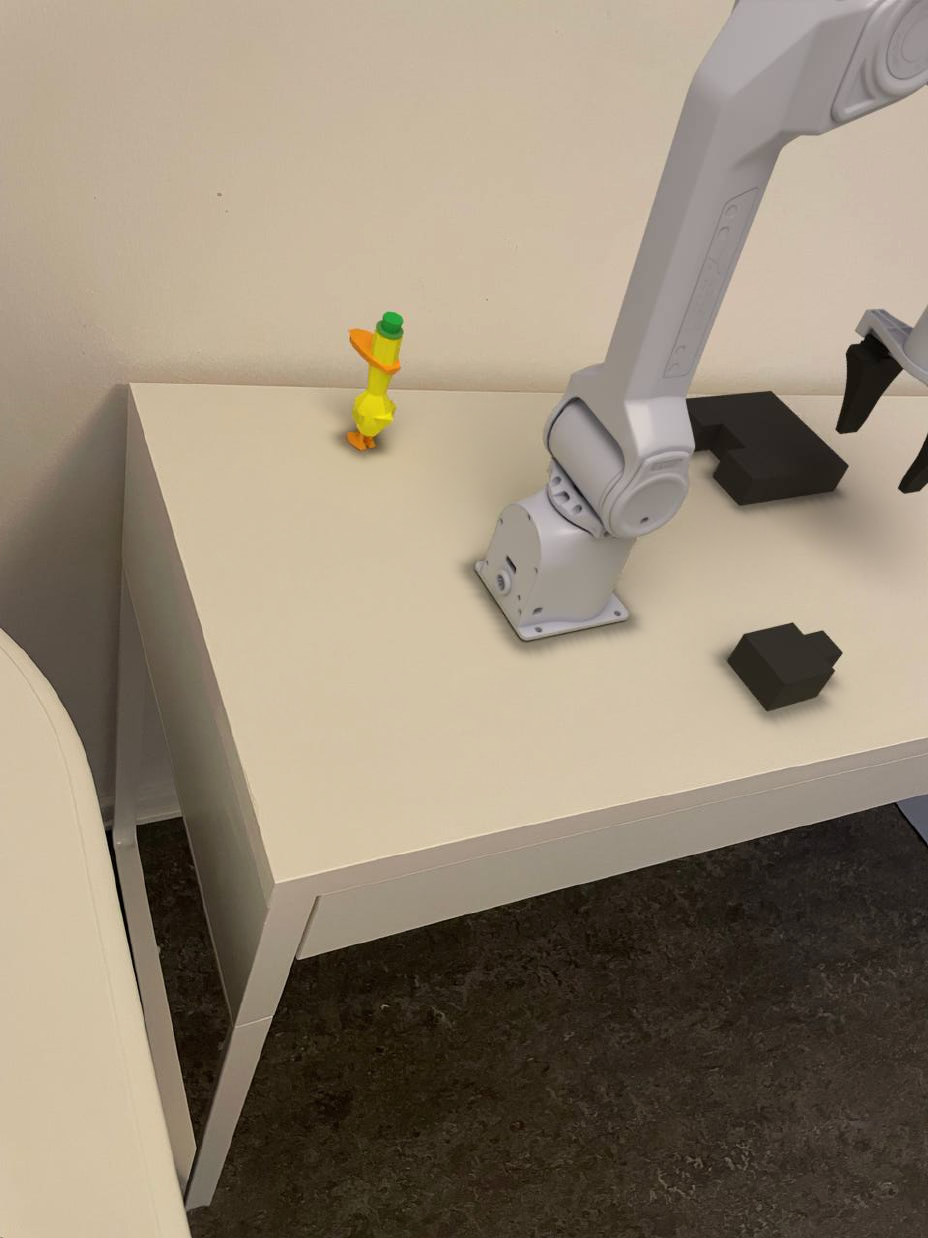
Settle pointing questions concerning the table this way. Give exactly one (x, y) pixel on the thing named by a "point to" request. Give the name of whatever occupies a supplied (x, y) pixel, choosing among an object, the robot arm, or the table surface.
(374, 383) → the toy figure
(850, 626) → the table surface
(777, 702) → the dark brown stepped block
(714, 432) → the big pad
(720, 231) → the robot arm
